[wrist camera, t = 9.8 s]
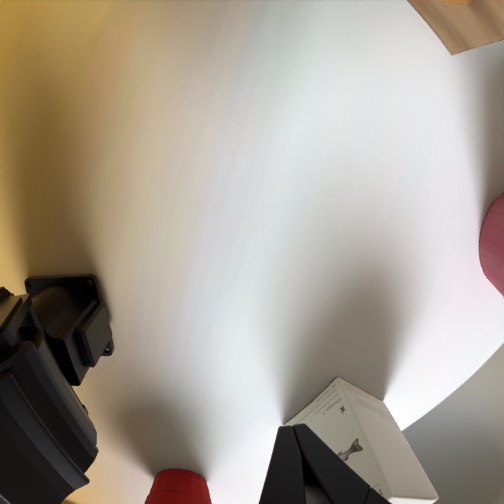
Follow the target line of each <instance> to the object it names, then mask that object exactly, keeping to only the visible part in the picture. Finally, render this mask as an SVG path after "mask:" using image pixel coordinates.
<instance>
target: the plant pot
mask: <svg viewBox="0 0 504 504" xmlns="http://www.w3.org/2000/svg"><path fill="white" fill-rule="evenodd" d="M479 257H480V263H481V267H482V270H483V273H484V275H485V276H486V278H487V279H488V280H489V281H490V282H491V283H492V284H493V285H494V286H495V287H496V288H497V290H498V291H499V292H500V293H501V294H502V295H503V296H504V193H502V194H501V195H500V196H498V197H497V198H496V200H495V201H494V202H493V204H492V205H491V207H490V209H489V211H488V213H487V215H486V217H485V220H484V223H483V226H482V230H481V235H480V243H479Z"/></svg>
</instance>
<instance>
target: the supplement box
mask: <svg viewBox="0 0 504 504" xmlns="http://www.w3.org/2000/svg"><path fill="white" fill-rule="evenodd" d="M300 423H305V424H306V425H307V426H308V427H309V428H310V429H311V430H312V431H313V432H314V433H315V434H316V435H317V436H318V437H319V438H320V439H321V440H322V441H323V442H325V443H326V444H327V445H328V446H329V447H330V448H331V449H332V450H333V451H334V452H335V453H336V454H337V455H338V456H339V457H340V458H341V459H342V460H343V461H344V462H345V463H346V464H347V465H348V466H350V467H351V468H352V469H353V470H354V471H355V472H356V473H357V474H358V475H359V476H360V477H361V478H363V479H364V480H365V481H366V482H367V483H368V484H369V485H370V486H371V487H373V488H374V489H375V490H376V491H377V492H378V493H379V494H381V495H382V496H383V497H384V498H386V499H387V500H388V501H389V502H391V503H392V504H432V503H434V502H435V501H436V500H438V499H439V497H438V495H437V493H436V491H435V489H434V488H433V486H432V484H431V482H430V481H429V479H428V477H427V475H426V473H425V472H424V470H423V468H422V466H421V465H420V463H419V461H418V459H417V458H416V456H415V454H414V452H413V451H412V449H411V447H410V446H409V444H408V442H407V440H406V439H405V437H404V436H403V434H402V432H401V430H400V429H399V427H398V425H397V423H396V422H395V420H394V418H393V417H392V415H391V413H390V412H389V410H388V408H387V407H386V405H385V403H384V402H382V401H381V400H379V399H377V398H375V397H373V396H372V395H370V394H368V393H366V392H364V391H363V390H361V389H359V388H357V387H355V386H354V385H352V384H350V383H348V382H347V381H345V380H343V379H341V378H339V377H337V378H336V379H335V380H334V381H333V382H332V383H331V384H330V385H329V386H328V387H327V388H326V389H325V390H324V391H323V392H322V393H321V394H320V395H319V396H318V397H317V398H316V399H315V400H314V401H312V402H311V403H310V404H309V405H308V406H307V407H306V408H304V409H303V410H302V411H301V412H300V413H299V414H297V415H296V416H295V417H294V418H292V419H291V420H290V421H289V422H287V423H286V424H285V425H291V426H292V425H294V424H300ZM285 425H283V426H285ZM371 487H370V488H371Z"/></svg>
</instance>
